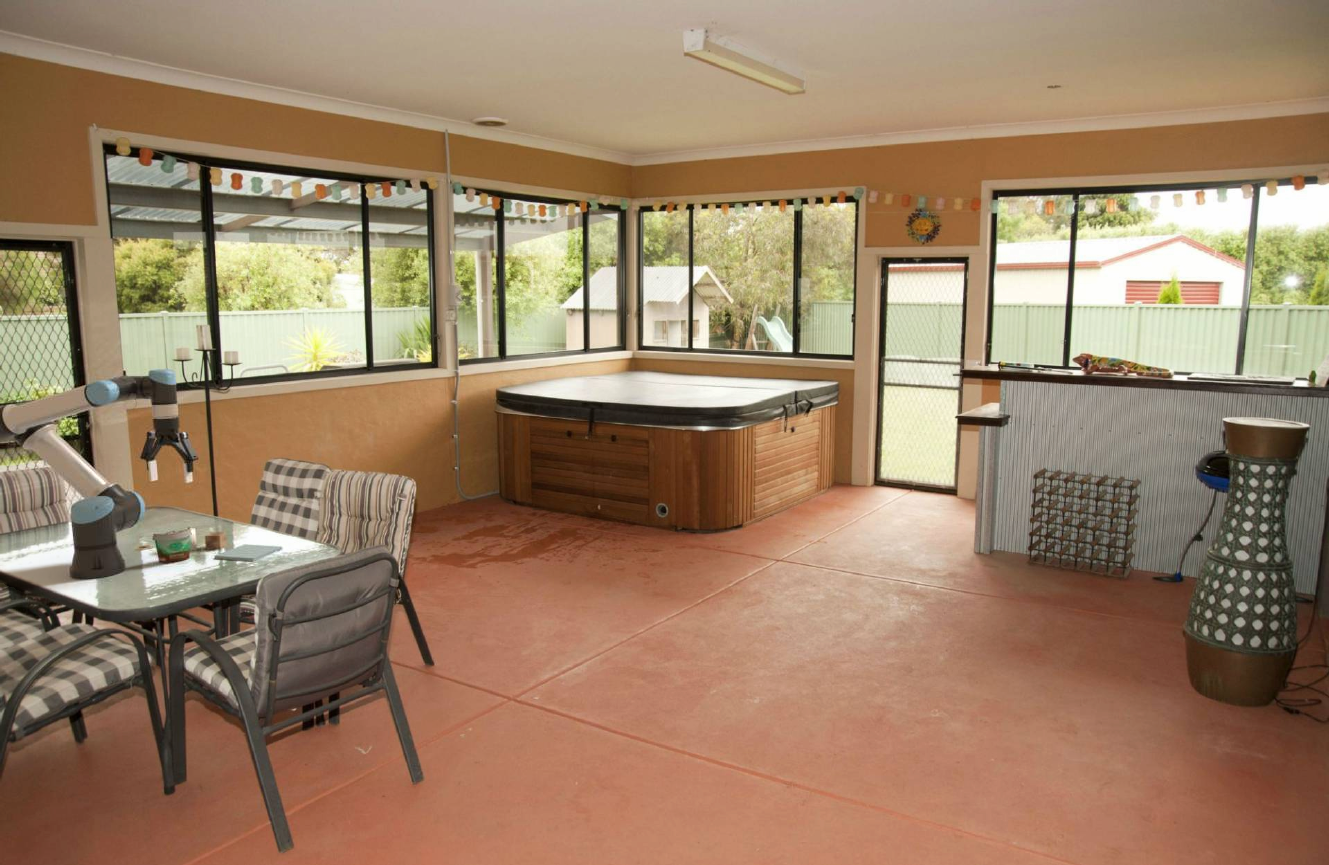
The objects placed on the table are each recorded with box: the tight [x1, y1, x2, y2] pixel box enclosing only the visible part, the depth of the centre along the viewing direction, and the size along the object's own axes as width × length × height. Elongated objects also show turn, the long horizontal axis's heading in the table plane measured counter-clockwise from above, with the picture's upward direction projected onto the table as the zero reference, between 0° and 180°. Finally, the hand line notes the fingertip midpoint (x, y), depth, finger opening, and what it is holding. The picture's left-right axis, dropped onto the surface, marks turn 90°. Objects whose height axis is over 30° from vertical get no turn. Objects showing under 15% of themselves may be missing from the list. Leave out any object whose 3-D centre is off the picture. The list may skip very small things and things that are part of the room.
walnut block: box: [204, 531, 228, 550], centre depth 323 cm, size 5×5×5 cm
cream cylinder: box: [178, 527, 198, 552], centre depth 321 cm, size 5×5×7 cm
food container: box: [152, 526, 192, 564], centre depth 307 cm, size 12×6×10 cm, turn 143°
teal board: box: [214, 543, 283, 562], centre depth 315 cm, size 15×15×1 cm
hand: (171, 481), depth 304 cm, fingers open, 13 cm apart
